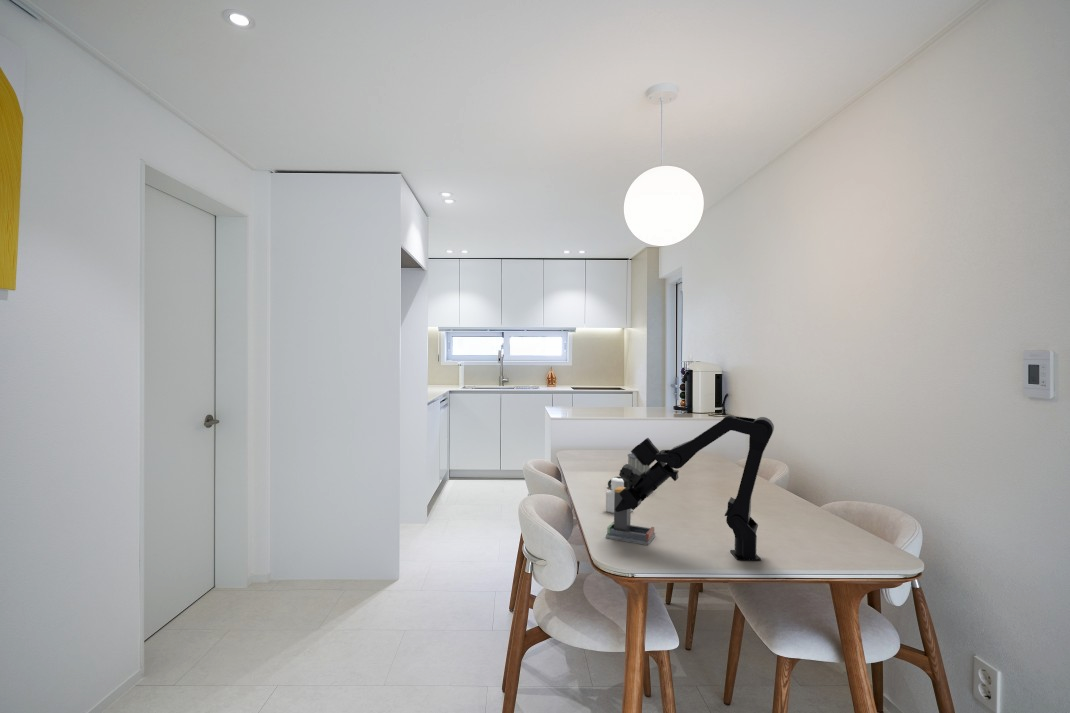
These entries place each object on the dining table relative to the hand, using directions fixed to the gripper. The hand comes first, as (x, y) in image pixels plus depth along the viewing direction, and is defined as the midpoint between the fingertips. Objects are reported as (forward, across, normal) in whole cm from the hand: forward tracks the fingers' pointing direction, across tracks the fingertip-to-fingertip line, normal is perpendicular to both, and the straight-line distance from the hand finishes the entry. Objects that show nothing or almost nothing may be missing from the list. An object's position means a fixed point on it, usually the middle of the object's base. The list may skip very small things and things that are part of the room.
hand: (618, 508), depth 170 cm
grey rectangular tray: (+3, 0, +9) cm, 9 cm away
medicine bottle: (+11, -24, +1) cm, 26 cm away
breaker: (+4, 0, +6) cm, 7 cm away
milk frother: (+15, -53, -3) cm, 55 cm away
